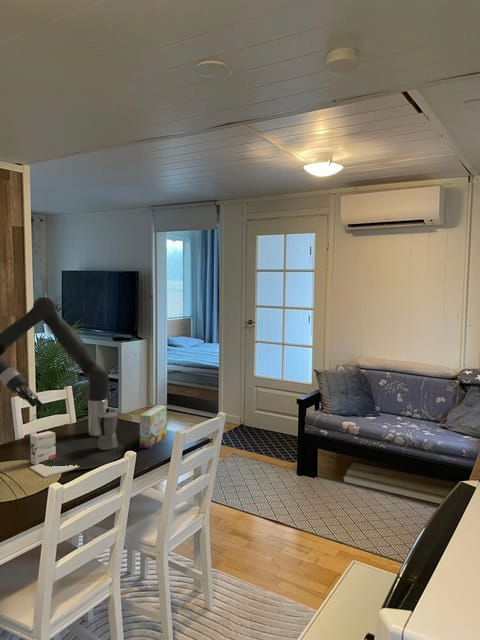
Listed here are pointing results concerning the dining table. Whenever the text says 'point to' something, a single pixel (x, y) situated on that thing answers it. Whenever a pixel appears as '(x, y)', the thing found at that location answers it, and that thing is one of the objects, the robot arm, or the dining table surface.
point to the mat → (51, 469)
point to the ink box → (42, 447)
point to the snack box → (153, 426)
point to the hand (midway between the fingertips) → (38, 405)
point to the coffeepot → (107, 430)
